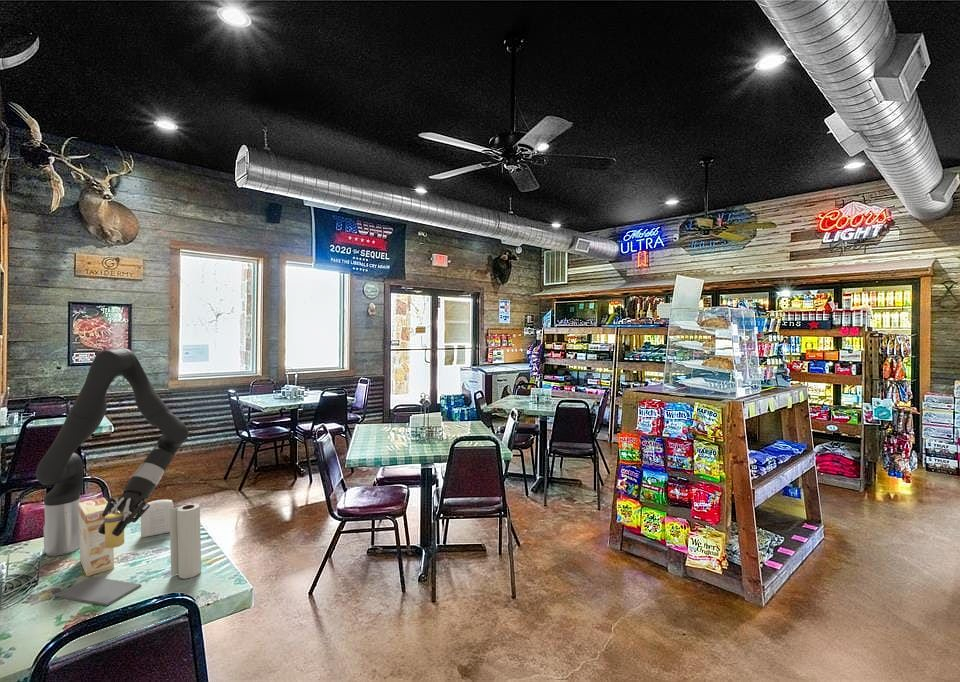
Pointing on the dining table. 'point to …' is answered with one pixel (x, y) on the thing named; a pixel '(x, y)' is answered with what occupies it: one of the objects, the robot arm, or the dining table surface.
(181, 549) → the paper towel roll
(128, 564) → the dining table surface
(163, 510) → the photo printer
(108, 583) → the slate mat
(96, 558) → the coffeecake box
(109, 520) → the yellow domed cylinder
